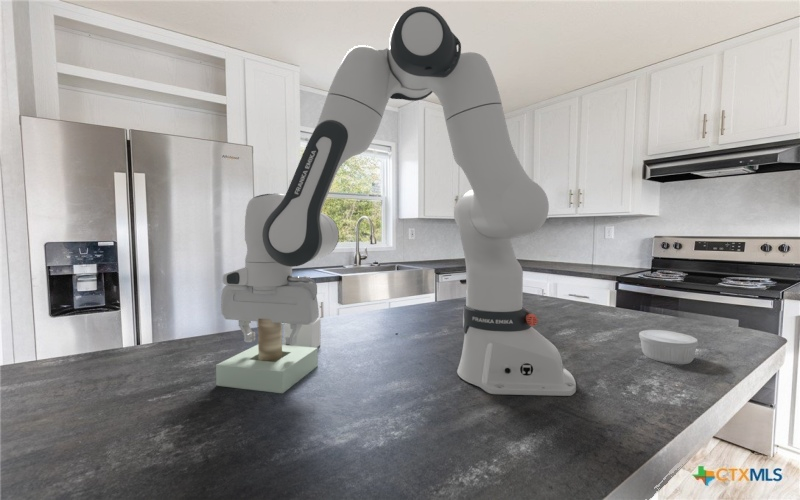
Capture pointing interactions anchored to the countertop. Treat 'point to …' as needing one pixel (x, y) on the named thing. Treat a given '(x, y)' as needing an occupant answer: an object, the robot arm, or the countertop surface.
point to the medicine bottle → (305, 334)
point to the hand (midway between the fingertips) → (270, 343)
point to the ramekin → (668, 346)
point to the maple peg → (269, 340)
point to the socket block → (267, 369)
